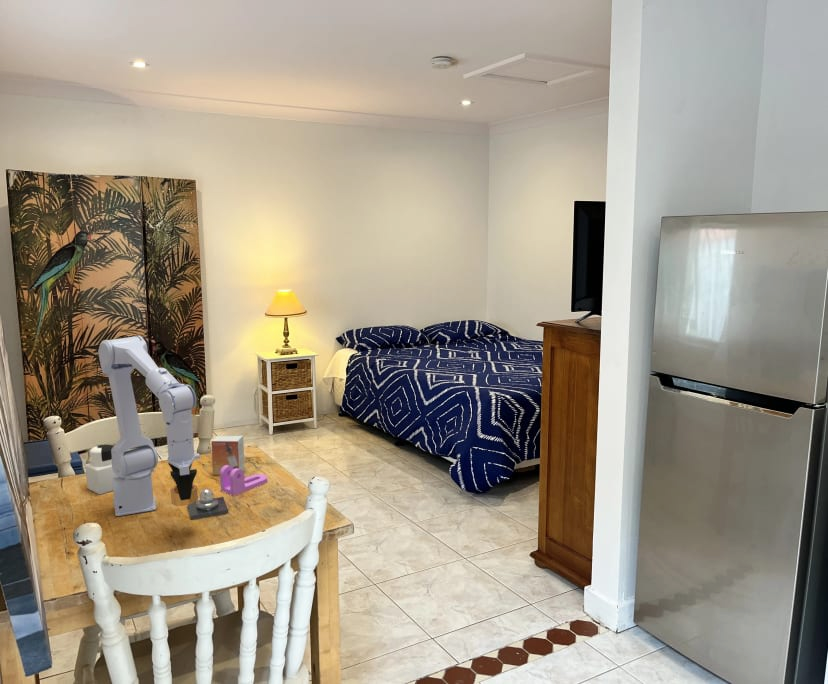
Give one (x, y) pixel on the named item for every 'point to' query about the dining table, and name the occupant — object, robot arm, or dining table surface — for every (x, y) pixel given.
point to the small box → (227, 453)
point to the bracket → (239, 480)
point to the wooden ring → (178, 502)
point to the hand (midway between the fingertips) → (184, 494)
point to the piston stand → (207, 506)
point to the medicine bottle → (100, 470)
